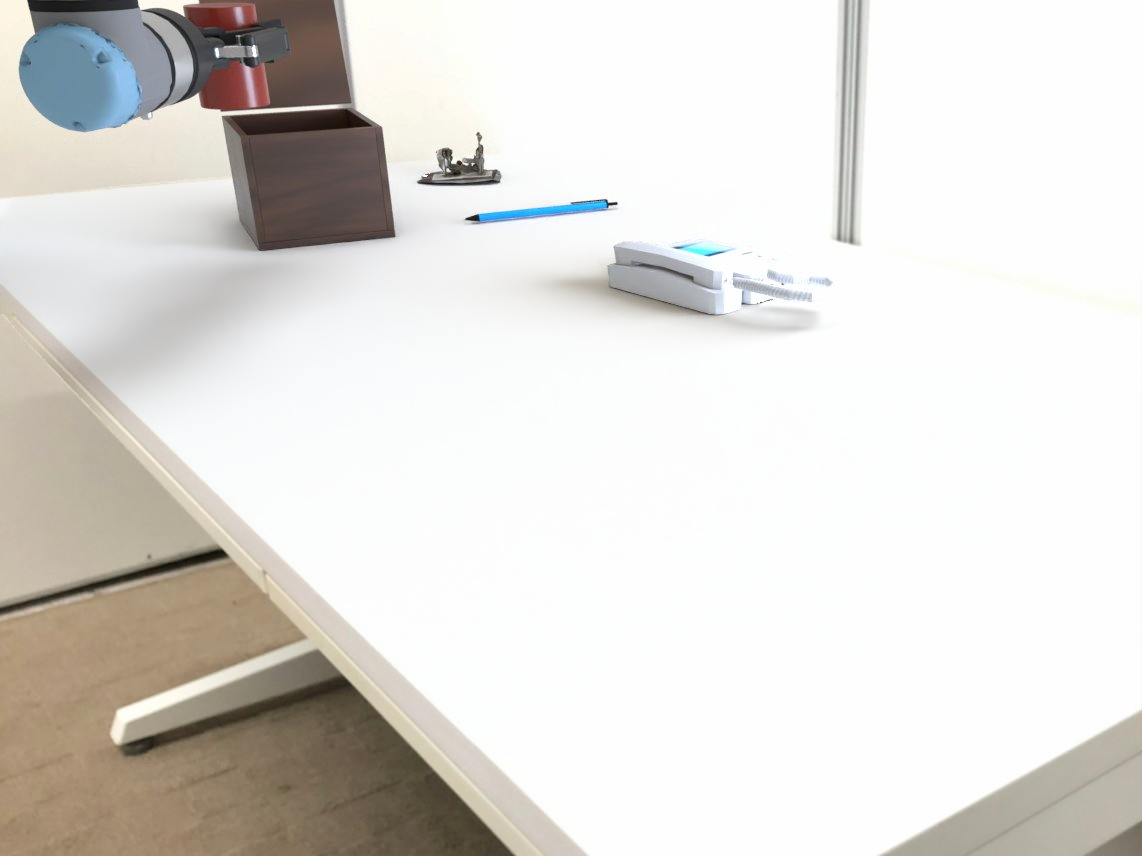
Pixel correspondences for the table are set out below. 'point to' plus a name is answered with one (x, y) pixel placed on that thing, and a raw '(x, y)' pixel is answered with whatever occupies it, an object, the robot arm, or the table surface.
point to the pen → (543, 210)
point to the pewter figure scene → (461, 168)
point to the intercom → (714, 275)
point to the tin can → (237, 81)
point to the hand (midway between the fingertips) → (242, 33)
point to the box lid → (304, 54)
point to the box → (309, 177)
